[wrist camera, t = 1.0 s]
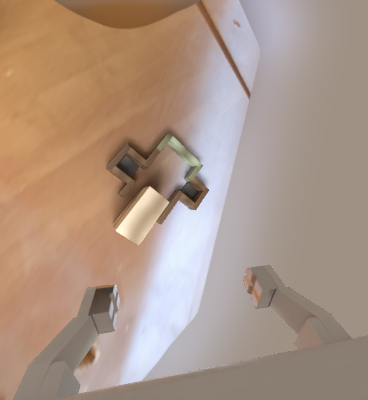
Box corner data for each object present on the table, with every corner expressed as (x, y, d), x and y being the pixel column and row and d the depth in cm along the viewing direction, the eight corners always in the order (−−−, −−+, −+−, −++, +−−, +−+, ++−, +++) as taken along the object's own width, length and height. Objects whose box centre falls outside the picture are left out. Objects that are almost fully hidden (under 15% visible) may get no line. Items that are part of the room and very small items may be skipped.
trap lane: (97, 178, 38) (97, 176, 36) (148, 120, 43) (151, 115, 40) (173, 234, 46) (178, 236, 43) (210, 179, 50) (216, 178, 47)
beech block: (112, 224, 40) (115, 230, 32) (140, 188, 42) (149, 186, 34) (131, 236, 41) (138, 245, 33) (157, 201, 44) (169, 202, 36)
